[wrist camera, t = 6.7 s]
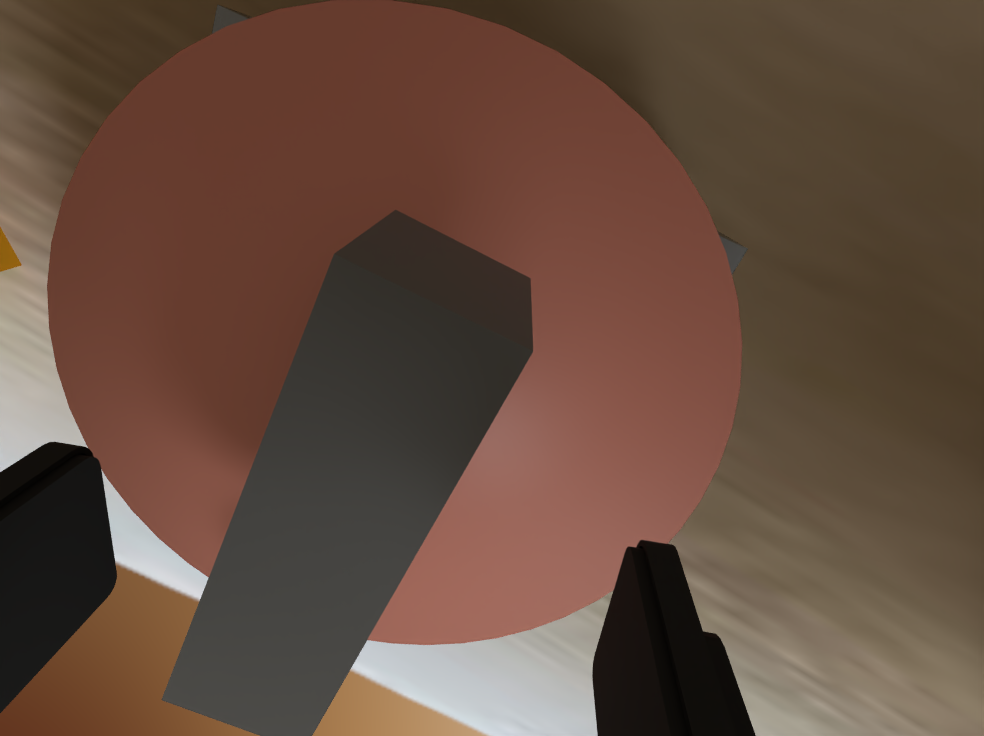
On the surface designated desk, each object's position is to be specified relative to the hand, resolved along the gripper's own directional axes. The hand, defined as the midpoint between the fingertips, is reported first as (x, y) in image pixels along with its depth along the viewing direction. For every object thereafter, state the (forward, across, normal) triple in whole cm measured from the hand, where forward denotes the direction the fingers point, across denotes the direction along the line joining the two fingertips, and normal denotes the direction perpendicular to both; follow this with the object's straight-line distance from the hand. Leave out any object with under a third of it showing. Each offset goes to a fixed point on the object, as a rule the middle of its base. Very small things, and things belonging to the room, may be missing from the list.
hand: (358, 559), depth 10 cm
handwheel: (+7, +1, 0) cm, 7 cm away
